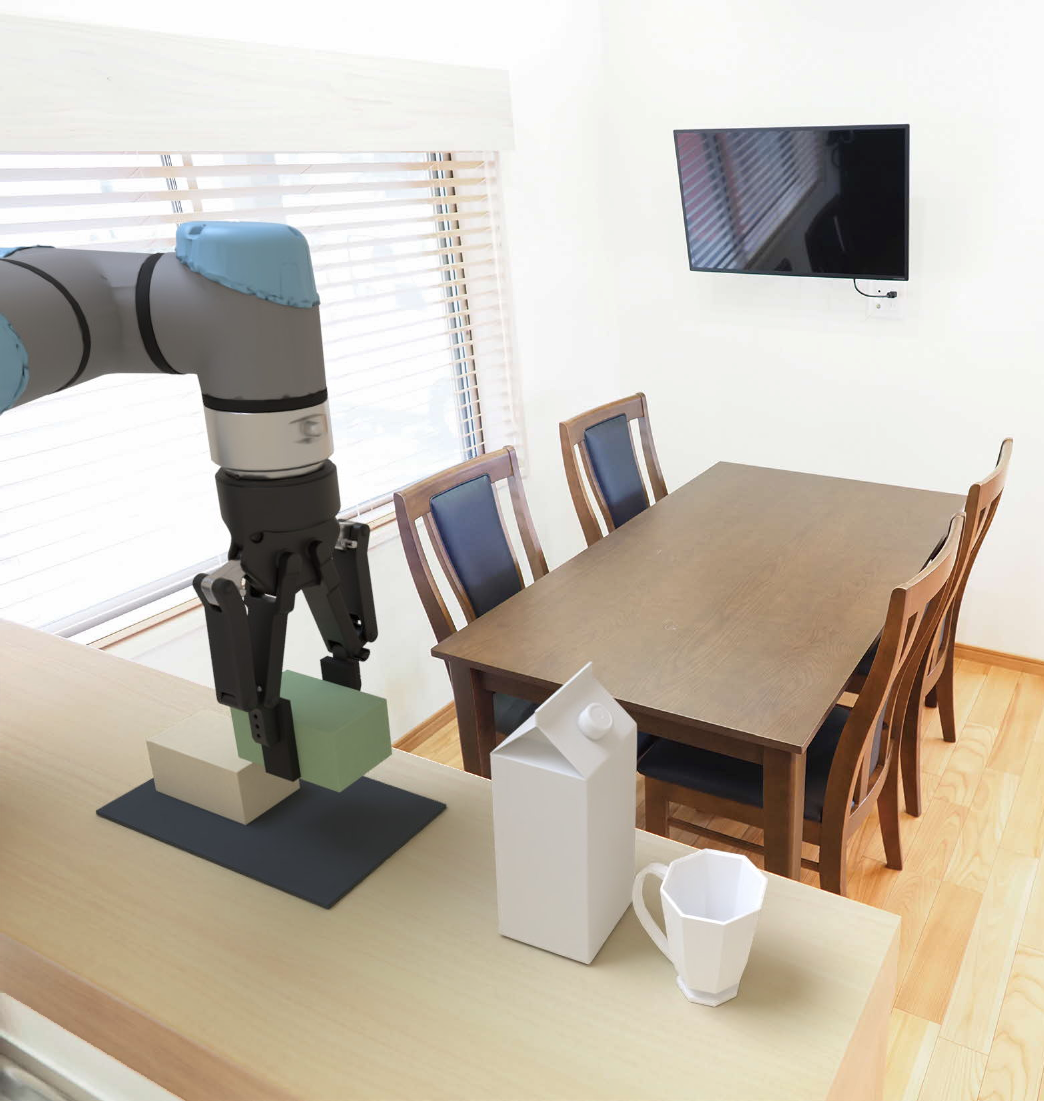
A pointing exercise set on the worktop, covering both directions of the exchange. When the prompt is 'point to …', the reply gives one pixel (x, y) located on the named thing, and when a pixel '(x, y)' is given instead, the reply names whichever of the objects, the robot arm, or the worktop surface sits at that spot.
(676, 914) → the cup
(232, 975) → the worktop surface
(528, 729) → the milk carton
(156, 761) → the cream block
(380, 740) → the green block
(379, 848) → the mat
